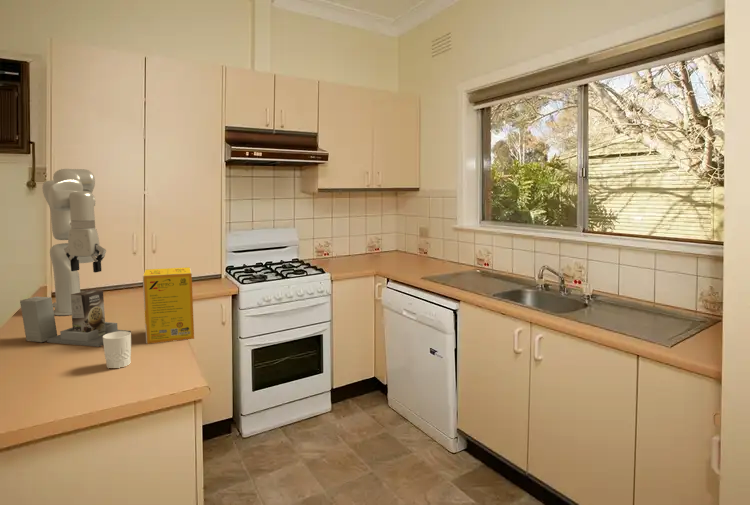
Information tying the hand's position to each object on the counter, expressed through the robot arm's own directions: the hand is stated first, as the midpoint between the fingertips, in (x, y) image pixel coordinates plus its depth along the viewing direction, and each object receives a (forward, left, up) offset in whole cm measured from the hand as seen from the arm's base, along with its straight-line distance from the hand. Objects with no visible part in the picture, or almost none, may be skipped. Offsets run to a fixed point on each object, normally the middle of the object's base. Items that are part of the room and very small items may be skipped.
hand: (86, 271), depth 174 cm
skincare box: (-15, -7, -26) cm, 31 cm away
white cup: (+32, -23, -26) cm, 47 cm away
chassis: (+1, -1, -25) cm, 25 cm away
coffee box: (+1, -1, -24) cm, 24 cm away
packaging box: (+28, +9, -26) cm, 39 cm away
